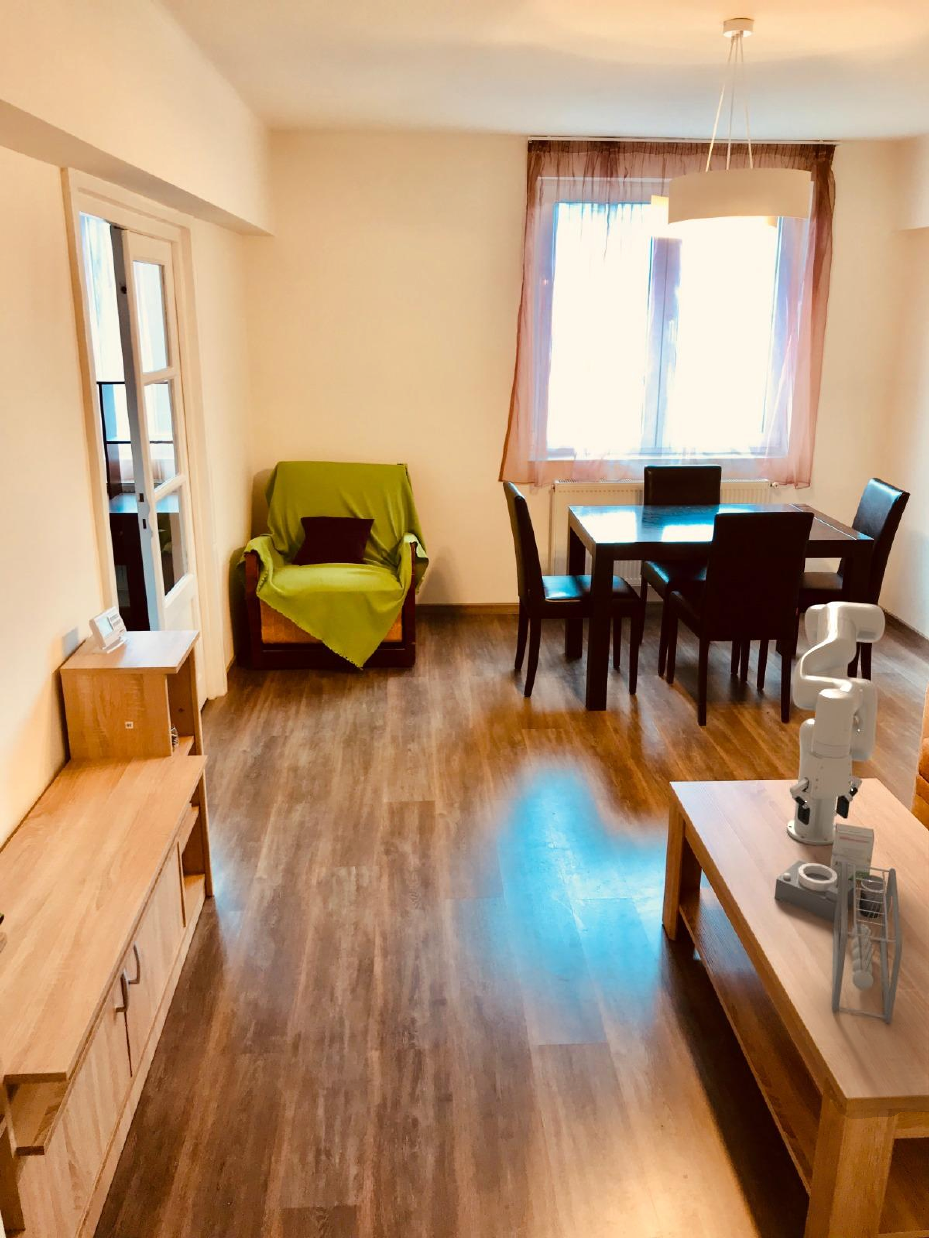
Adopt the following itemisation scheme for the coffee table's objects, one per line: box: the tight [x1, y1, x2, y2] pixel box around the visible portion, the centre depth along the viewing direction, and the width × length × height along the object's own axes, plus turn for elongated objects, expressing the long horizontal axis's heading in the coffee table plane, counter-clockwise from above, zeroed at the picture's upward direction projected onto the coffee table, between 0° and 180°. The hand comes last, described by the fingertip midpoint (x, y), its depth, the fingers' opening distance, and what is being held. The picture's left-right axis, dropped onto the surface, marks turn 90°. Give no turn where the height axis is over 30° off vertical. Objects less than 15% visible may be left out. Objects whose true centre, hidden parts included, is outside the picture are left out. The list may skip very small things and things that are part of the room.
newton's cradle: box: [831, 860, 903, 1024], centre depth 194 cm, size 30×10×18 cm, turn 159°
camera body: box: [774, 860, 858, 924], centre depth 221 cm, size 11×14×7 cm
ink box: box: [829, 822, 875, 882], centre depth 230 cm, size 9×5×12 cm, turn 71°
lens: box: [858, 874, 887, 920], centre depth 216 cm, size 5×5×8 cm
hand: (822, 818), depth 211 cm, fingers open, 9 cm apart
